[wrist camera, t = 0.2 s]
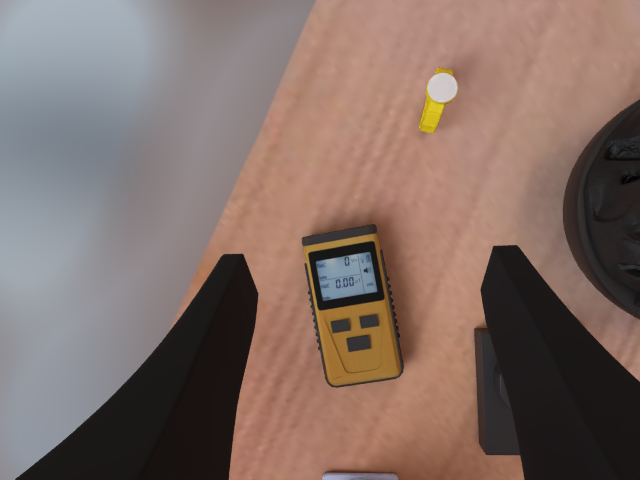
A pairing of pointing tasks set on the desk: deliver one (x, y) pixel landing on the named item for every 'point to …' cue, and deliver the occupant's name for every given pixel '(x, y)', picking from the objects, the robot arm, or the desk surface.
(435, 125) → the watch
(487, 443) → the switch box
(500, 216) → the desk surface
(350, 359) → the electronic device
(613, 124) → the coal bowl
